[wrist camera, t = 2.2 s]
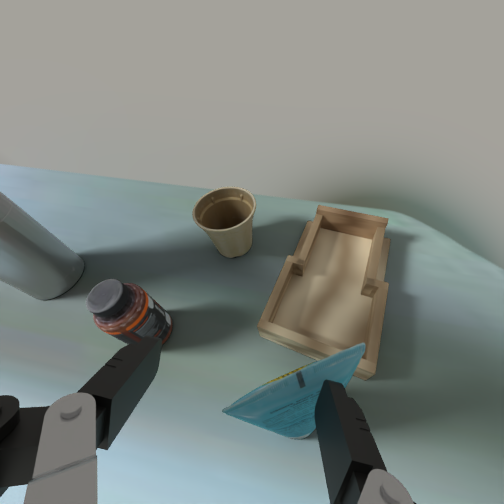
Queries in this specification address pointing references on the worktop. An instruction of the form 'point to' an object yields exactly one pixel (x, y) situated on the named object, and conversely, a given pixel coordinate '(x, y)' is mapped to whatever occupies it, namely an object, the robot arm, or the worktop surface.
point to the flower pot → (227, 219)
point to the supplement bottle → (127, 312)
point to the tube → (295, 395)
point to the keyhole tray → (332, 289)
